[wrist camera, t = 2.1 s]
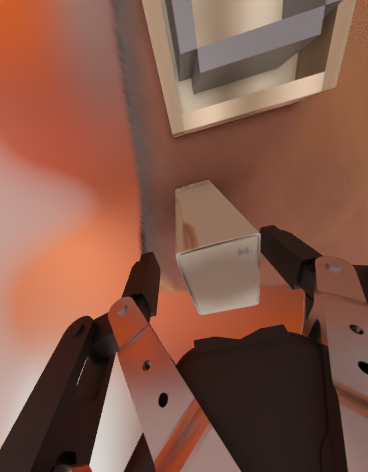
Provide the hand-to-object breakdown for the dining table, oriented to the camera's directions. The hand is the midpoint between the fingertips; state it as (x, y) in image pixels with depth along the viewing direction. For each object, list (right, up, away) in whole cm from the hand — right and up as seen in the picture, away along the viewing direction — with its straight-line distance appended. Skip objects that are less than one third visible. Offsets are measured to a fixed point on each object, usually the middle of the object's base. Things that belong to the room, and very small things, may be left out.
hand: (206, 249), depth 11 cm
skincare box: (0, +5, +8) cm, 9 cm away
